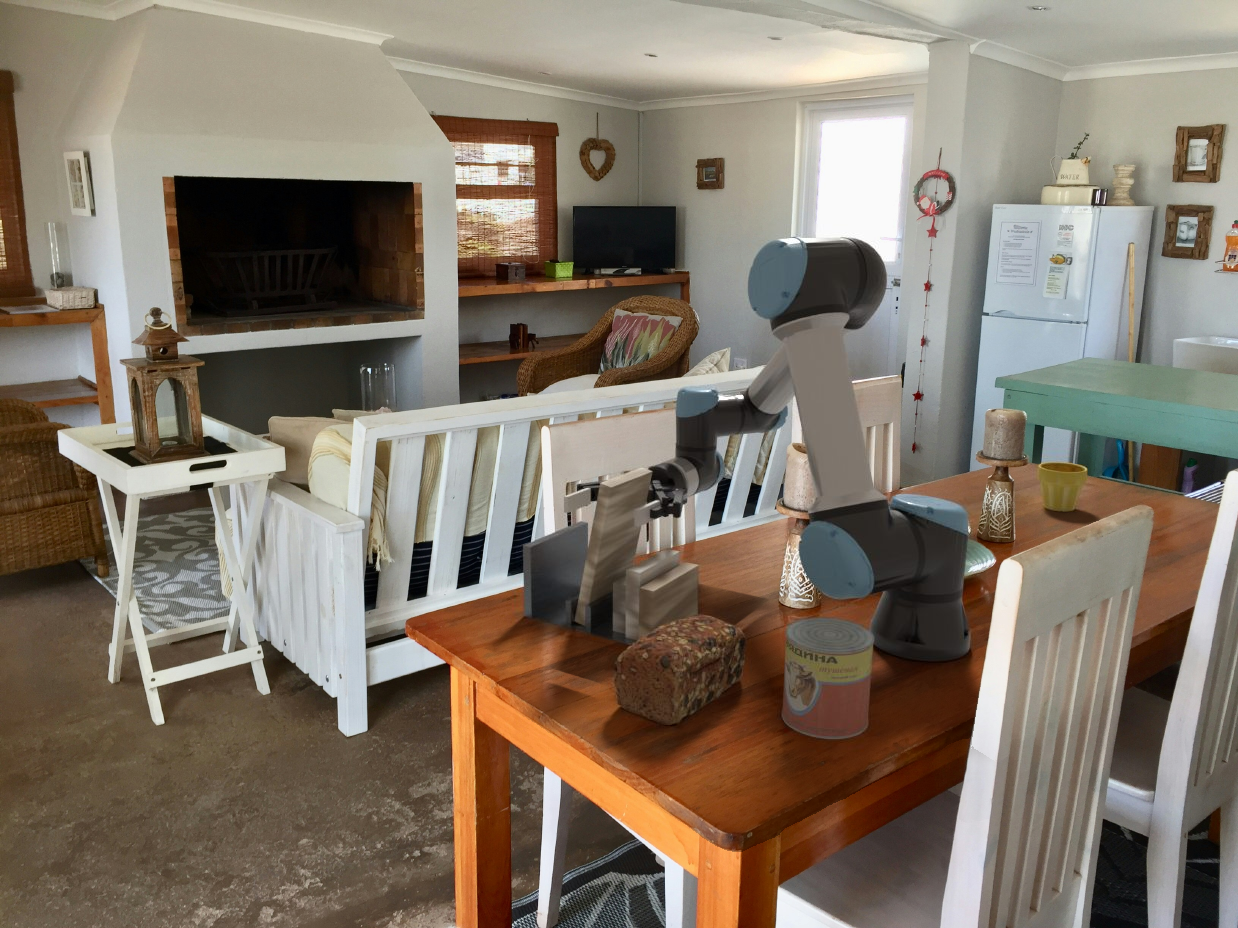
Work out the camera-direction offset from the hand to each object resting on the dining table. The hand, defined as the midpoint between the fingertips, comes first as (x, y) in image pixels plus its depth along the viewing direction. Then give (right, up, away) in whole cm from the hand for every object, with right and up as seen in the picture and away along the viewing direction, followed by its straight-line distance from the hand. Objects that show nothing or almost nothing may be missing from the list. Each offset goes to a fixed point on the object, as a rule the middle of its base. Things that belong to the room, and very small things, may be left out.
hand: (600, 511), depth 160 cm
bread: (+12, -25, -20) cm, 34 cm away
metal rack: (+2, -19, +4) cm, 19 cm away
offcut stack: (+8, -18, -1) cm, 20 cm away
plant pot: (+104, -3, +72) cm, 127 cm away
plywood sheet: (0, -17, +5) cm, 17 cm away
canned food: (+30, -26, -26) cm, 48 cm away
